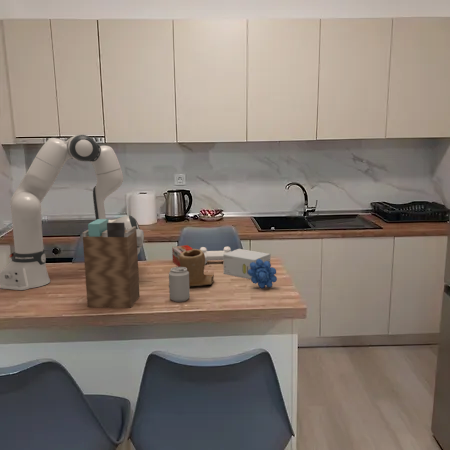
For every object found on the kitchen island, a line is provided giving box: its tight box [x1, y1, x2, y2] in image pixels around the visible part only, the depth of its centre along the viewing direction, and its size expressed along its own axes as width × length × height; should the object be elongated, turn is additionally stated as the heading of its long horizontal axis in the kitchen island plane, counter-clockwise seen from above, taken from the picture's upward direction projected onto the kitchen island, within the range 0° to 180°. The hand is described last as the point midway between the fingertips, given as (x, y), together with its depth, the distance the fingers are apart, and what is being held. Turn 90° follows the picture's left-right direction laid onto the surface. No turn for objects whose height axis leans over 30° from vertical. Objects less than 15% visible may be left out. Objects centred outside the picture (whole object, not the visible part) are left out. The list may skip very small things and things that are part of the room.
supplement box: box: [223, 248, 271, 280], centre depth 209 cm, size 17×13×9 cm
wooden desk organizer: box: [82, 223, 140, 309], centre depth 173 cm, size 16×12×31 cm
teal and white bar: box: [87, 218, 117, 237], centre depth 175 cm, size 4×20×4 cm, turn 175°
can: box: [168, 266, 191, 303], centre depth 176 cm, size 8×8×12 cm
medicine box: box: [171, 244, 194, 267], centre depth 225 cm, size 15×8×8 cm, turn 22°
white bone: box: [199, 246, 232, 265], centre depth 227 cm, size 15×9×8 cm, turn 92°
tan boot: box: [179, 248, 215, 287], centre depth 192 cm, size 15×12×15 cm
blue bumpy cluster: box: [248, 259, 278, 289], centre depth 187 cm, size 12×7×12 cm, turn 85°
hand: (113, 229), depth 187 cm, fingers open, 8 cm apart
